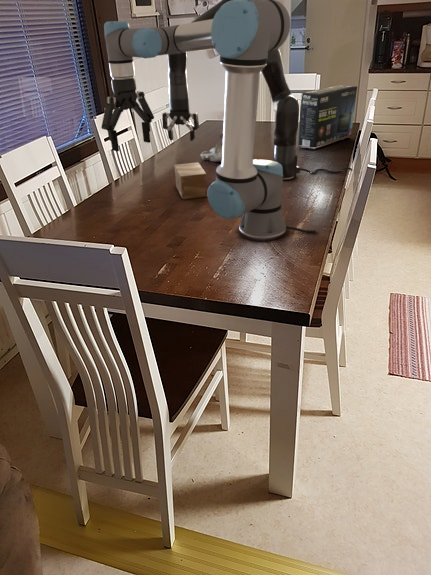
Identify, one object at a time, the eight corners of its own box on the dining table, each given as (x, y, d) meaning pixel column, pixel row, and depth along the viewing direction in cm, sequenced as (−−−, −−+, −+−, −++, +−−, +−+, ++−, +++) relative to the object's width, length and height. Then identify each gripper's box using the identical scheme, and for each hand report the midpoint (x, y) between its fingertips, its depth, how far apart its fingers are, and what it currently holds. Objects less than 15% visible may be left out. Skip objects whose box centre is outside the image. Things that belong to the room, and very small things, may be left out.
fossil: (226, 157, 213) (205, 136, 216) (215, 176, 219) (194, 155, 222) (246, 154, 226) (225, 135, 230) (234, 172, 233) (214, 153, 236)
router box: (314, 151, 231) (318, 94, 217) (296, 148, 237) (299, 92, 224) (352, 138, 251) (358, 85, 238) (335, 135, 258) (340, 83, 245)
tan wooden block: (176, 186, 192) (174, 164, 188) (199, 183, 194) (198, 162, 189) (182, 199, 179) (180, 176, 174) (207, 196, 181) (206, 173, 176)
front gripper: (145, 72, 154) (152, 137, 165) (82, 82, 138) (94, 152, 149) (160, 73, 150) (166, 140, 161) (97, 83, 134) (108, 156, 145)
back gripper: (199, 95, 176) (201, 138, 184) (164, 95, 179) (167, 137, 187) (193, 98, 170) (196, 143, 178) (157, 98, 173) (161, 142, 181)
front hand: (131, 146), depth 155 cm, fingers open, 13 cm apart
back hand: (181, 140), depth 183 cm, fingers open, 8 cm apart
